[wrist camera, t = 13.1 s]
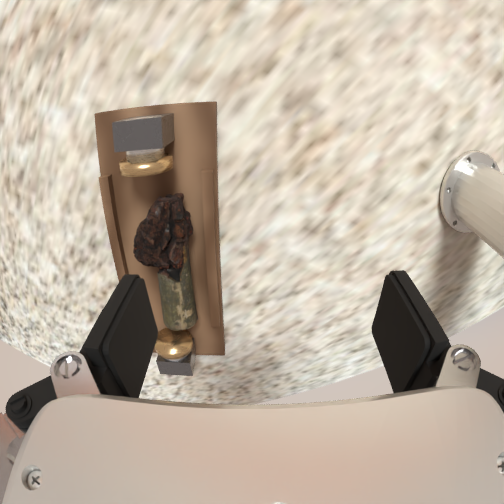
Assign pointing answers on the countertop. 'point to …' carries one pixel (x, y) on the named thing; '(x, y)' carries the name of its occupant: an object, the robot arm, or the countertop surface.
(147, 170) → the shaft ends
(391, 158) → the countertop surface
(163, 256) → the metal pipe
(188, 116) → the cradle
